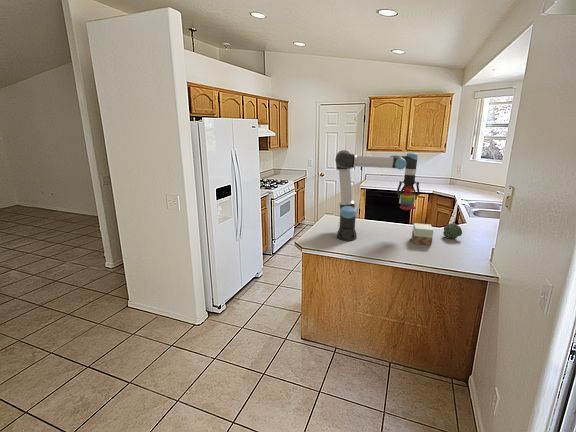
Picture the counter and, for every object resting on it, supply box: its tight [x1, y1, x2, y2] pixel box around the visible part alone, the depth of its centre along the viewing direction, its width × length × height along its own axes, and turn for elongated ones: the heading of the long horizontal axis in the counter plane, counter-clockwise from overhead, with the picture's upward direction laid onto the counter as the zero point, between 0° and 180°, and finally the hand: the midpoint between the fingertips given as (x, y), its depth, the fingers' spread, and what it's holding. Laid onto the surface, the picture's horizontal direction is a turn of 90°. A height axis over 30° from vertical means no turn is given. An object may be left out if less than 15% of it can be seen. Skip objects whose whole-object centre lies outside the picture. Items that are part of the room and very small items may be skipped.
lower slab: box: [411, 230, 433, 246], centre depth 232 cm, size 12×12×6 cm
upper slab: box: [412, 222, 434, 239], centre depth 230 cm, size 12×12×6 cm
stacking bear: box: [399, 186, 416, 211], centre depth 236 cm, size 11×10×18 cm
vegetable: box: [443, 223, 463, 240], centre depth 239 cm, size 12×13×15 cm
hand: (406, 203), depth 237 cm, fingers closed on stacking bear, 9 cm apart
